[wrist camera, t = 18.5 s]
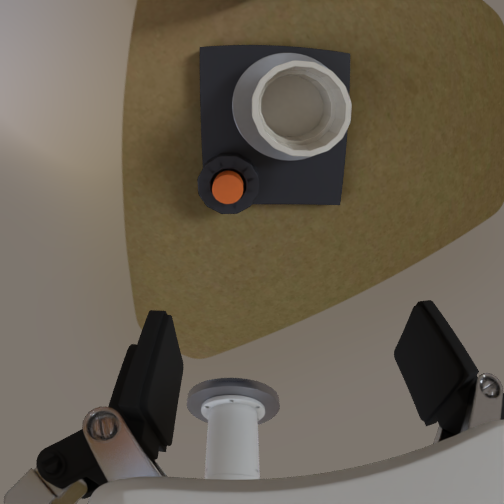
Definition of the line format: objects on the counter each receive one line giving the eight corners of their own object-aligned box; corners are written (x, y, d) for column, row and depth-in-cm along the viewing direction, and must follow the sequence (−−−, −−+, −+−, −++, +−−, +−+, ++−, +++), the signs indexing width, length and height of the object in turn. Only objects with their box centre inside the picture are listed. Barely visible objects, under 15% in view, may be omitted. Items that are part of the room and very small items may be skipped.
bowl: (327, 145, 24) (347, 159, 19) (250, 143, 24) (252, 155, 19) (330, 72, 20) (353, 67, 16) (250, 67, 20) (252, 58, 15)
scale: (336, 203, 30) (344, 214, 28) (203, 203, 30) (199, 214, 28) (345, 55, 22) (356, 51, 20) (198, 49, 22) (192, 44, 19)
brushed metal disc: (340, 162, 25) (342, 163, 25) (233, 159, 25) (232, 160, 25) (345, 59, 20) (347, 59, 20) (231, 52, 20) (231, 51, 19)
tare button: (243, 198, 27) (243, 204, 26) (214, 198, 27) (212, 204, 26) (243, 170, 26) (243, 174, 24) (213, 170, 26) (211, 175, 24)
